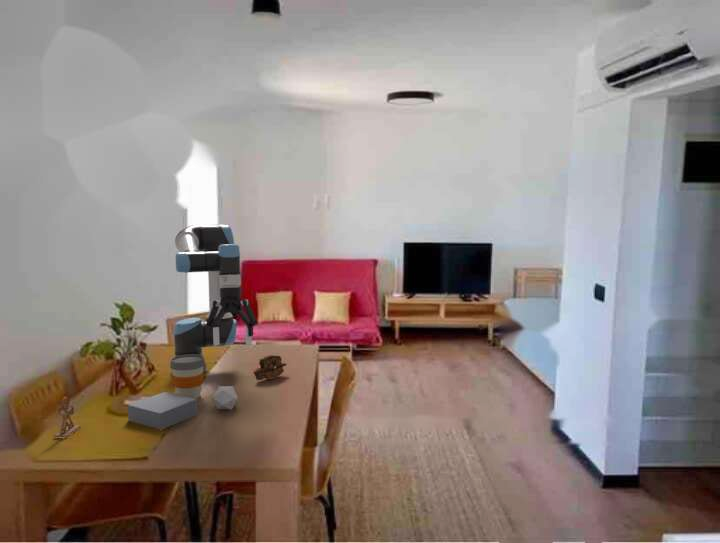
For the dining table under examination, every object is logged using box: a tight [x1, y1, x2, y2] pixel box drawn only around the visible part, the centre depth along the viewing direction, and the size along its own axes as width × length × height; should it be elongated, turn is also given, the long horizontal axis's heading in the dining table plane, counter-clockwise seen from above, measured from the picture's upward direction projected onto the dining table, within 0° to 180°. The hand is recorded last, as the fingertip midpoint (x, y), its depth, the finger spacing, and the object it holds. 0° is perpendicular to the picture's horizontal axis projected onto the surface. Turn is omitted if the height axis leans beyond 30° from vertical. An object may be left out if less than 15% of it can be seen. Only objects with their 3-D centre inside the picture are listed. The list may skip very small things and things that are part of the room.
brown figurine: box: [53, 396, 81, 438], centre depth 184 cm, size 9×4×12 cm, turn 176°
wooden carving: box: [253, 354, 287, 381], centre depth 242 cm, size 16×5×10 cm, turn 143°
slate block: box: [127, 391, 198, 430], centre depth 198 cm, size 16×16×6 cm
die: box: [212, 385, 239, 410], centre depth 207 cm, size 8×9×10 cm
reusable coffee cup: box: [169, 355, 205, 399], centre depth 219 cm, size 13×13×15 cm
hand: (232, 345), depth 207 cm, fingers open, 13 cm apart
